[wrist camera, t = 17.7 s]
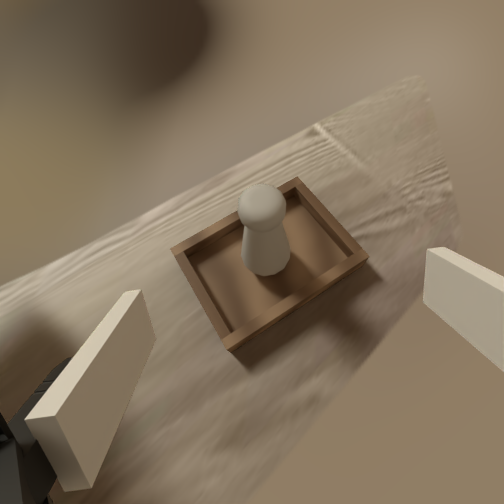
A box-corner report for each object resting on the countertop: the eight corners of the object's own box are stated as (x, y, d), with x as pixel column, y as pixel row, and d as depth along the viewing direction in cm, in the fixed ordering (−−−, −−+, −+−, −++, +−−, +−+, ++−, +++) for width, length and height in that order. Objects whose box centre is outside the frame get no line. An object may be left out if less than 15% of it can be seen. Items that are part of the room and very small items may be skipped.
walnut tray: (230, 352, 33) (226, 349, 30) (177, 258, 38) (170, 248, 36) (362, 266, 36) (369, 256, 33) (295, 190, 42) (297, 176, 39)
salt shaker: (295, 245, 37) (303, 180, 25) (282, 287, 35) (286, 236, 23) (251, 234, 38) (239, 166, 26) (236, 274, 36) (217, 219, 24)
